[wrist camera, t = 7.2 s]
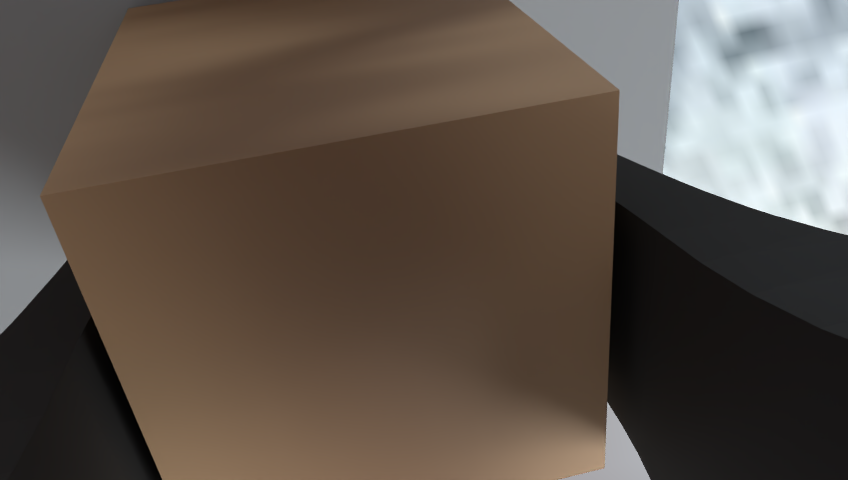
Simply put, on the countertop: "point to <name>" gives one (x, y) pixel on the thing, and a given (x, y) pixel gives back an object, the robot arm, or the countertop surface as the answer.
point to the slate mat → (108, 3)
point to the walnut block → (348, 238)
